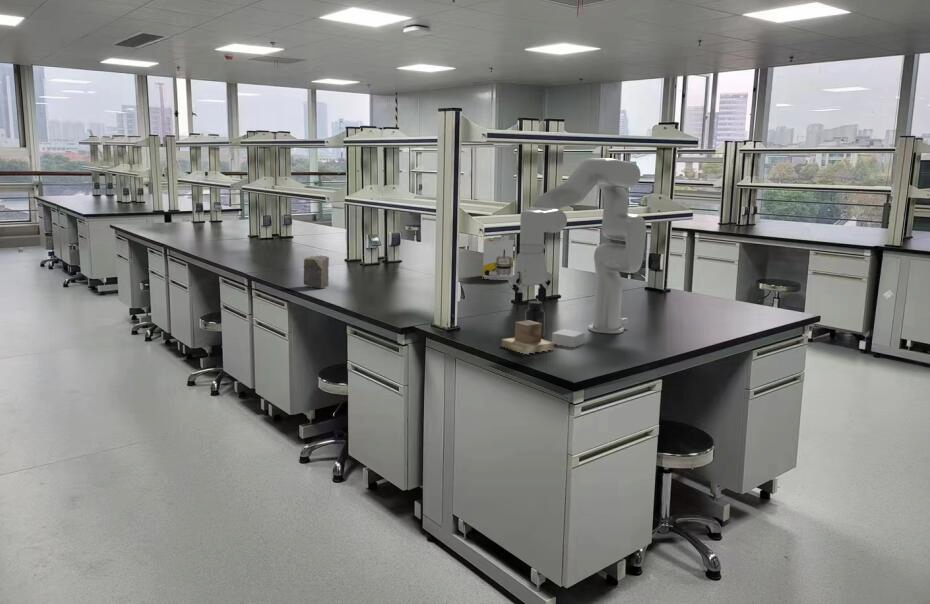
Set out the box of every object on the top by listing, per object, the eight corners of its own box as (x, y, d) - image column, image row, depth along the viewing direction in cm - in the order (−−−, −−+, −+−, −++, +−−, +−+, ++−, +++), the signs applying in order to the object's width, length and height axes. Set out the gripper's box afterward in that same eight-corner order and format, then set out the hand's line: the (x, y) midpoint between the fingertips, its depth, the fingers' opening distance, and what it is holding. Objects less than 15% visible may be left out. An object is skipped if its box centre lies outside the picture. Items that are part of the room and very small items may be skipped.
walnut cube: (528, 338, 232) (529, 320, 230) (540, 341, 227) (541, 323, 226) (514, 340, 228) (515, 322, 227) (526, 344, 223) (527, 325, 222)
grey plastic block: (562, 340, 241) (563, 328, 240) (584, 344, 236) (584, 332, 235) (551, 344, 234) (552, 333, 233) (573, 348, 230) (574, 336, 229)
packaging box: (482, 280, 365) (483, 231, 361) (482, 275, 381) (484, 229, 377) (513, 280, 365) (515, 232, 360) (513, 276, 381) (514, 230, 376)
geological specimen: (303, 287, 331) (302, 255, 328) (312, 285, 336) (311, 254, 333) (321, 289, 326) (320, 257, 323) (329, 287, 331) (329, 256, 328)
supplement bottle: (542, 333, 248) (544, 300, 246) (545, 338, 241) (546, 304, 239) (523, 333, 248) (524, 300, 246) (525, 338, 241) (526, 303, 239)
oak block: (529, 344, 236) (530, 335, 236) (553, 351, 226) (554, 342, 226) (501, 348, 229) (501, 339, 229) (524, 356, 220) (524, 347, 219)
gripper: (544, 246, 230) (543, 297, 233) (502, 250, 220) (501, 303, 223) (560, 248, 224) (558, 301, 227) (517, 252, 214) (516, 307, 217)
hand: (530, 302), depth 225 cm, fingers open, 9 cm apart
